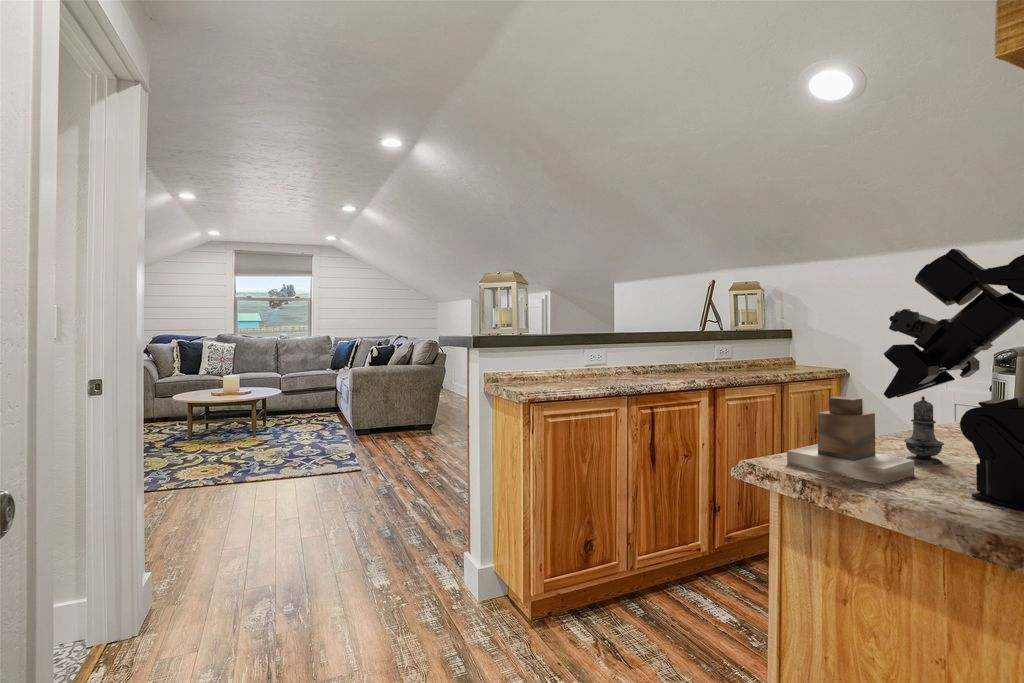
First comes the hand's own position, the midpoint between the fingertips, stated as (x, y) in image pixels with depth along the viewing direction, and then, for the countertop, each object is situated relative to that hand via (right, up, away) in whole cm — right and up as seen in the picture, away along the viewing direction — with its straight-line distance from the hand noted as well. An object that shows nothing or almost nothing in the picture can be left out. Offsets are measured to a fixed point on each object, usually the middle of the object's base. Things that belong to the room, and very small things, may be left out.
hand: (890, 395), depth 86 cm
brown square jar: (-3, -11, +6) cm, 13 cm away
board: (-3, -14, +6) cm, 15 cm away
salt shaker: (+14, -13, +11) cm, 22 cm away
